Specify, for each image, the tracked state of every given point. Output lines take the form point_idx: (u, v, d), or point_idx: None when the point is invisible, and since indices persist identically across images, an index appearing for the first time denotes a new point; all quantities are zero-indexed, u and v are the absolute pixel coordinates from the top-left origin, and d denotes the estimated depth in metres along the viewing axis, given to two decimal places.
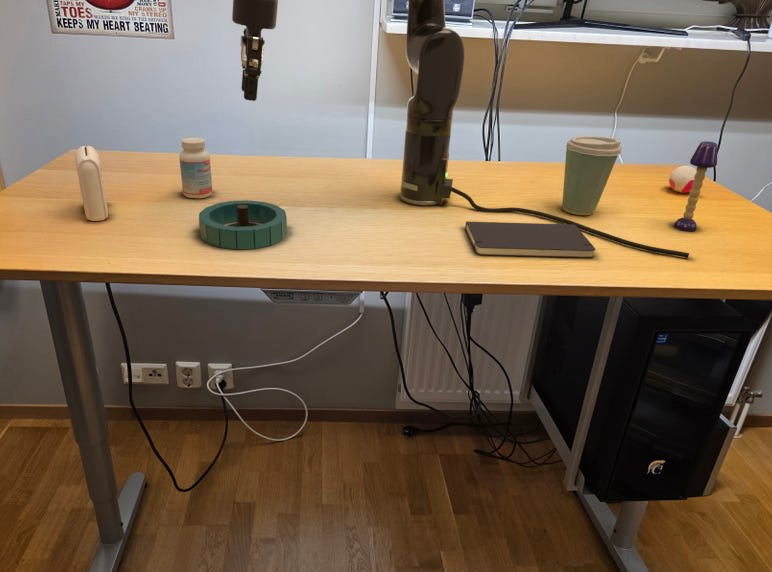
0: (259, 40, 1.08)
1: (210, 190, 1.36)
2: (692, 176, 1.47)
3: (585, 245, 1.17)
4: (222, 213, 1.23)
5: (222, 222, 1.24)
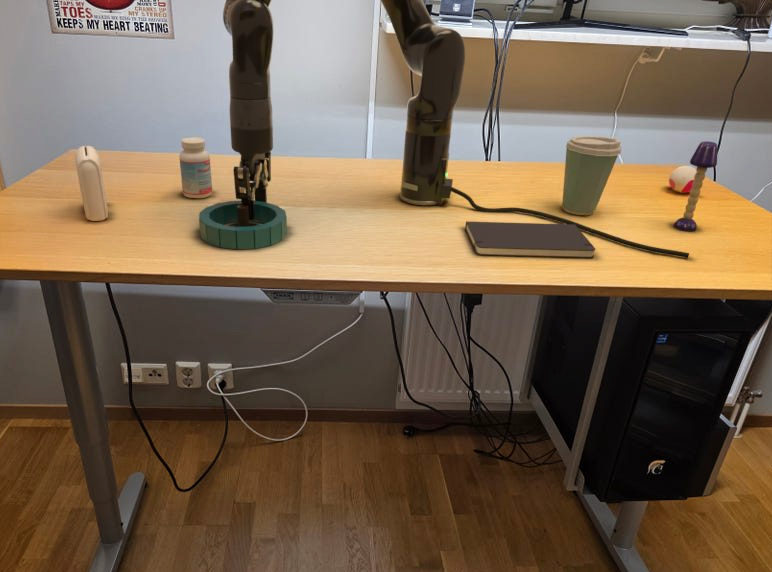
0: (243, 171, 1.15)
1: (210, 190, 1.36)
2: (692, 176, 1.47)
3: (585, 245, 1.17)
4: (222, 213, 1.23)
5: (222, 222, 1.24)
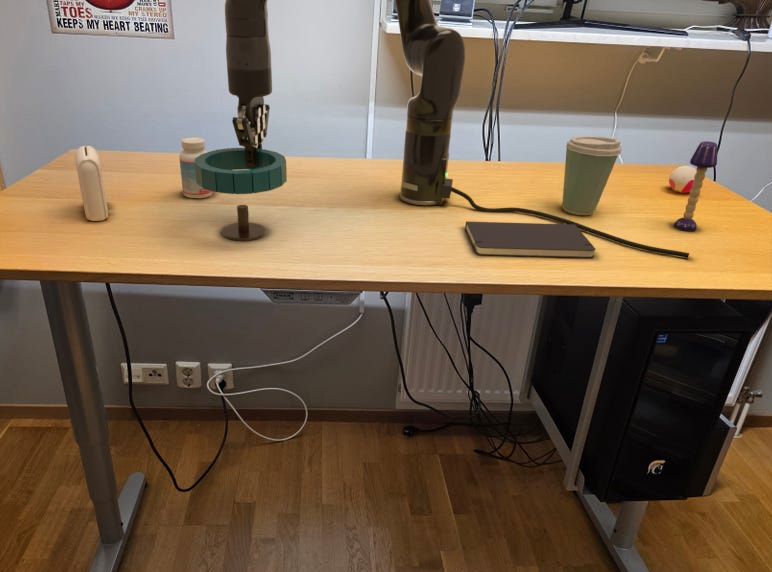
0: (242, 123, 1.11)
1: None
2: (692, 176, 1.47)
3: (585, 245, 1.17)
4: (219, 161, 1.18)
5: None
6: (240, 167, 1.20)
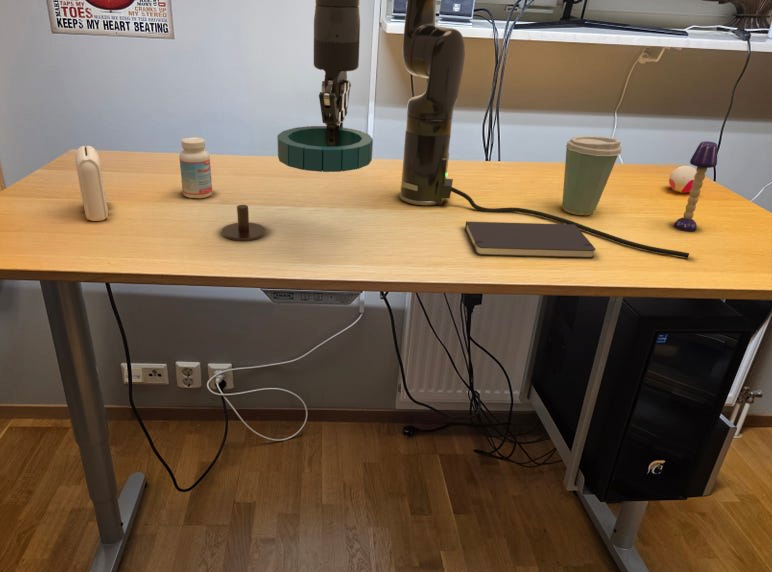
0: (330, 98, 1.06)
1: (210, 190, 1.36)
2: (692, 176, 1.47)
3: (585, 245, 1.17)
4: (299, 139, 1.13)
5: None
6: (320, 146, 1.15)
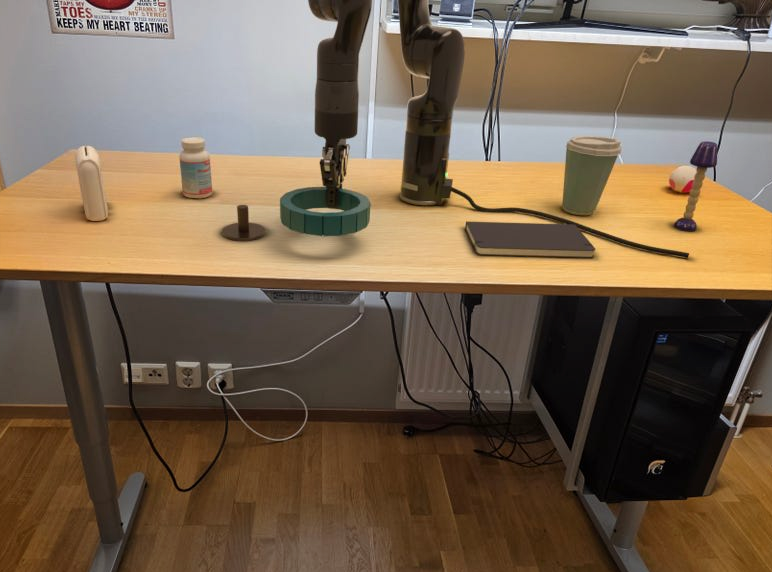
0: (330, 165, 1.11)
1: (210, 190, 1.36)
2: (692, 176, 1.47)
3: (585, 245, 1.17)
4: (301, 200, 1.18)
5: (300, 209, 1.19)
6: (320, 206, 1.21)
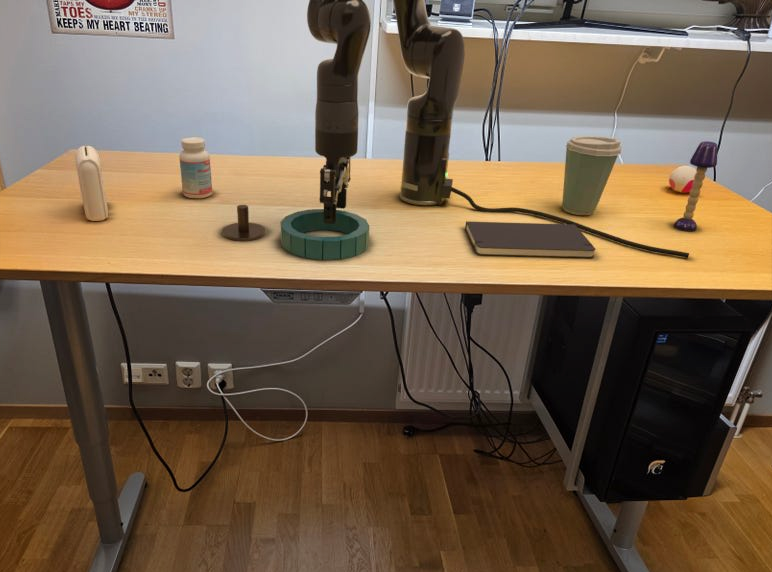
0: (330, 172, 1.12)
1: (210, 190, 1.36)
2: (692, 176, 1.47)
3: (585, 245, 1.17)
4: (301, 223, 1.21)
5: (300, 231, 1.21)
6: (320, 228, 1.23)
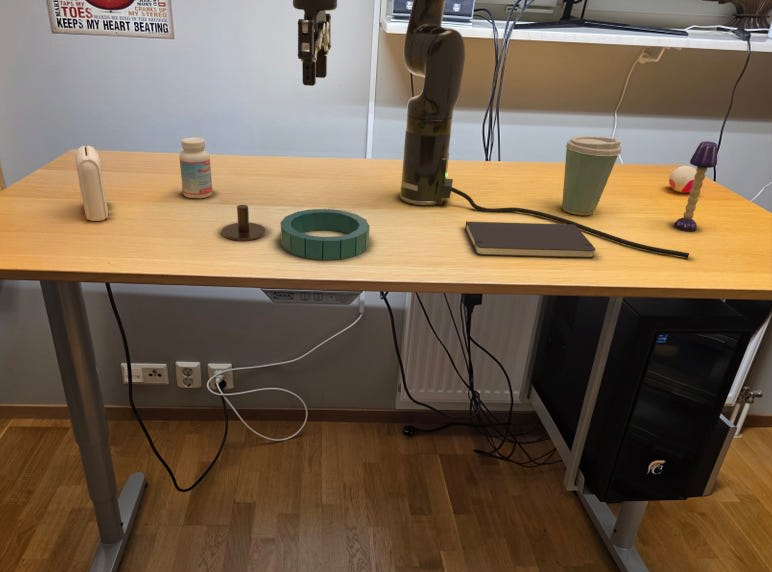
0: (308, 22, 1.07)
1: (210, 190, 1.36)
2: (692, 176, 1.47)
3: (585, 245, 1.17)
4: (301, 223, 1.21)
5: (300, 231, 1.21)
6: (320, 228, 1.23)
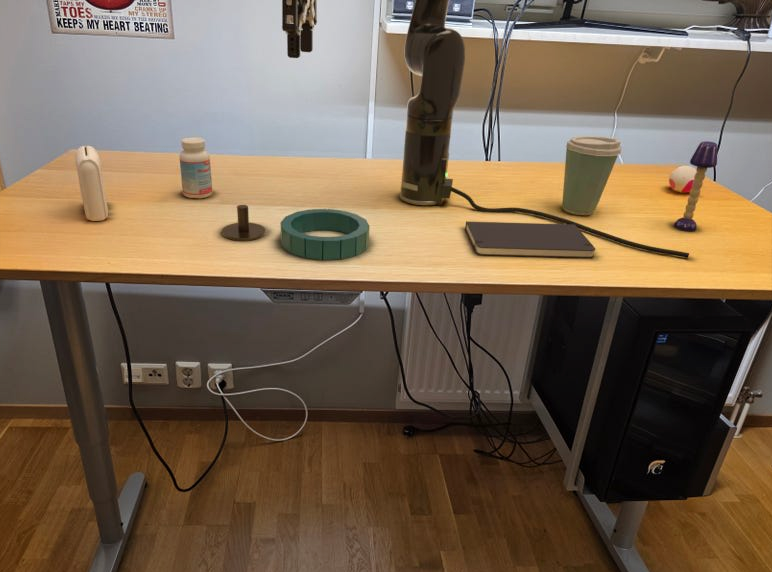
0: None
1: (210, 190, 1.36)
2: (692, 176, 1.47)
3: (585, 245, 1.17)
4: (301, 223, 1.21)
5: (300, 231, 1.21)
6: (320, 228, 1.23)
